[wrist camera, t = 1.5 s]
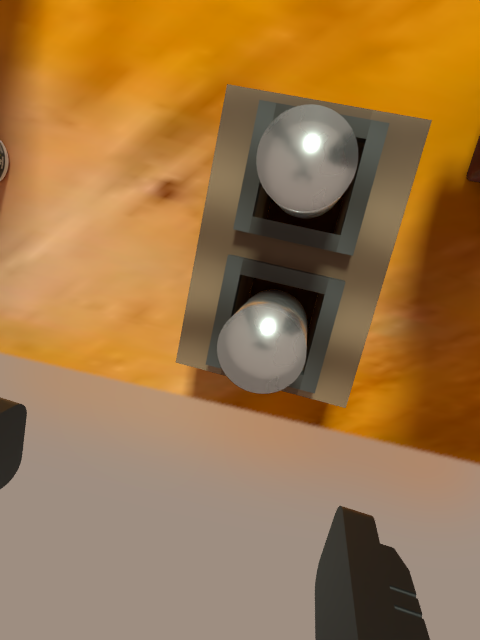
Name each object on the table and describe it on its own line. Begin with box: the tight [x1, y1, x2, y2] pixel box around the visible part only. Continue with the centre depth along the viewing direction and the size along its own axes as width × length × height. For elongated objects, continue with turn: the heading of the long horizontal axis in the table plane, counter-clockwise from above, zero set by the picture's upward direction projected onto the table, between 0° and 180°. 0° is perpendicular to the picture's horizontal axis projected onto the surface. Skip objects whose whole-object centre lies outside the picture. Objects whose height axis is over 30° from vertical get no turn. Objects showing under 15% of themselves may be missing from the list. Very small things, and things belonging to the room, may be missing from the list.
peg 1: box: [217, 289, 307, 394], centre depth 23 cm, size 4×4×7 cm
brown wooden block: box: [176, 84, 432, 408], centre depth 28 cm, size 18×12×8 cm, turn 168°
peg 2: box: [256, 104, 358, 219], centre depth 21 cm, size 4×4×7 cm
